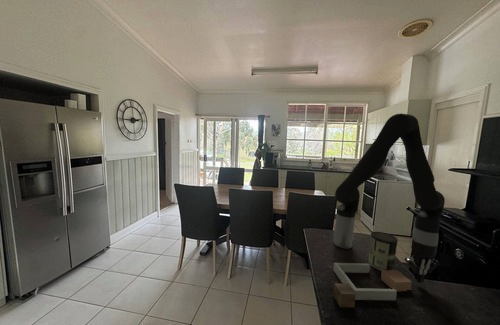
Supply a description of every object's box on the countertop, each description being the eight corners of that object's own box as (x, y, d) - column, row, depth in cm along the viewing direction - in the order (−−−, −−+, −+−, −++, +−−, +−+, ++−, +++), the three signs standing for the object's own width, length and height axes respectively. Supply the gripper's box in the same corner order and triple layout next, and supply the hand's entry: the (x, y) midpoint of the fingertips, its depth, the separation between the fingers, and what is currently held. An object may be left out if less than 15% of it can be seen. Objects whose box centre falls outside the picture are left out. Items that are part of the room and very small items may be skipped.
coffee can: (387, 260, 98) (391, 232, 97) (398, 273, 88) (402, 243, 87) (364, 257, 100) (367, 230, 99) (372, 269, 90) (376, 239, 89)
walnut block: (333, 296, 73) (334, 283, 73) (346, 296, 74) (348, 283, 73) (339, 307, 69) (341, 293, 68) (354, 307, 69) (355, 294, 68)
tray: (333, 270, 88) (334, 262, 88) (367, 271, 89) (368, 263, 89) (354, 299, 72) (355, 290, 72) (395, 300, 73) (396, 291, 72)
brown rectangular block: (380, 279, 84) (381, 270, 84) (395, 279, 85) (397, 270, 85) (394, 292, 77) (395, 282, 77) (410, 291, 78) (412, 281, 78)
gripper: (431, 236, 84) (426, 275, 85) (401, 235, 83) (396, 275, 85) (450, 245, 76) (443, 288, 78) (416, 244, 76) (410, 288, 77)
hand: (418, 281), depth 81 cm, fingers closed
